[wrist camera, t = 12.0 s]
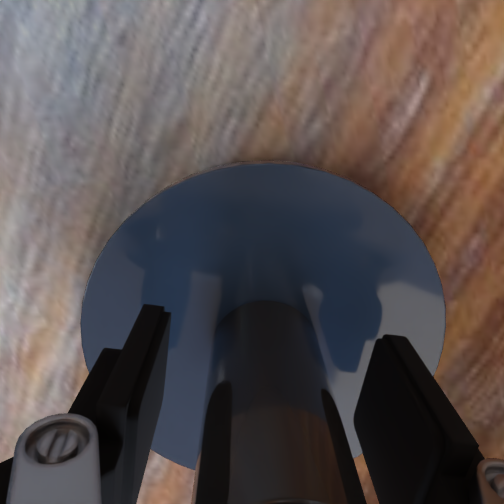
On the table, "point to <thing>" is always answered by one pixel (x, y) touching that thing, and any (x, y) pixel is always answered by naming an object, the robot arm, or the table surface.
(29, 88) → the table surface
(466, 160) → the table surface
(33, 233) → the table surface
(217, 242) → the lid
